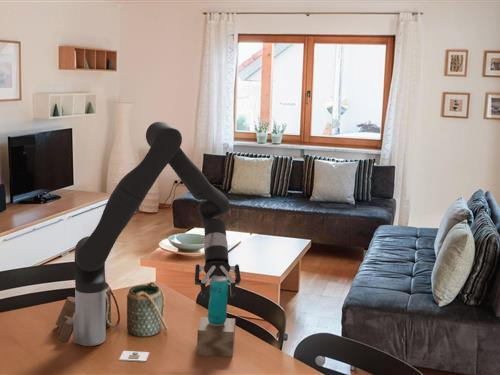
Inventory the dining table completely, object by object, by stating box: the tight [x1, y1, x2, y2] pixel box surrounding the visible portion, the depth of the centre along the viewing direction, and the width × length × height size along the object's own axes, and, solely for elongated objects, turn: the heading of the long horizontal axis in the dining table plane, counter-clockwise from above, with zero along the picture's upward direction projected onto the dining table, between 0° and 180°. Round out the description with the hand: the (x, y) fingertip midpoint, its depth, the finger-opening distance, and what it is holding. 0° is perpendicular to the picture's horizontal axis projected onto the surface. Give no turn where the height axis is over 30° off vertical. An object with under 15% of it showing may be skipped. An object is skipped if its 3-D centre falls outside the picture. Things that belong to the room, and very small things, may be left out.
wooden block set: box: [55, 296, 75, 343], centre depth 217 cm, size 18×9×10 cm, turn 179°
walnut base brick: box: [196, 316, 236, 358], centre depth 208 cm, size 11×11×8 cm
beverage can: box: [207, 276, 229, 327], centre depth 206 cm, size 6×6×15 cm
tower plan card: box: [118, 350, 150, 363], centre depth 201 cm, size 8×6×1 cm
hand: (218, 296), depth 205 cm, fingers open, 8 cm apart
